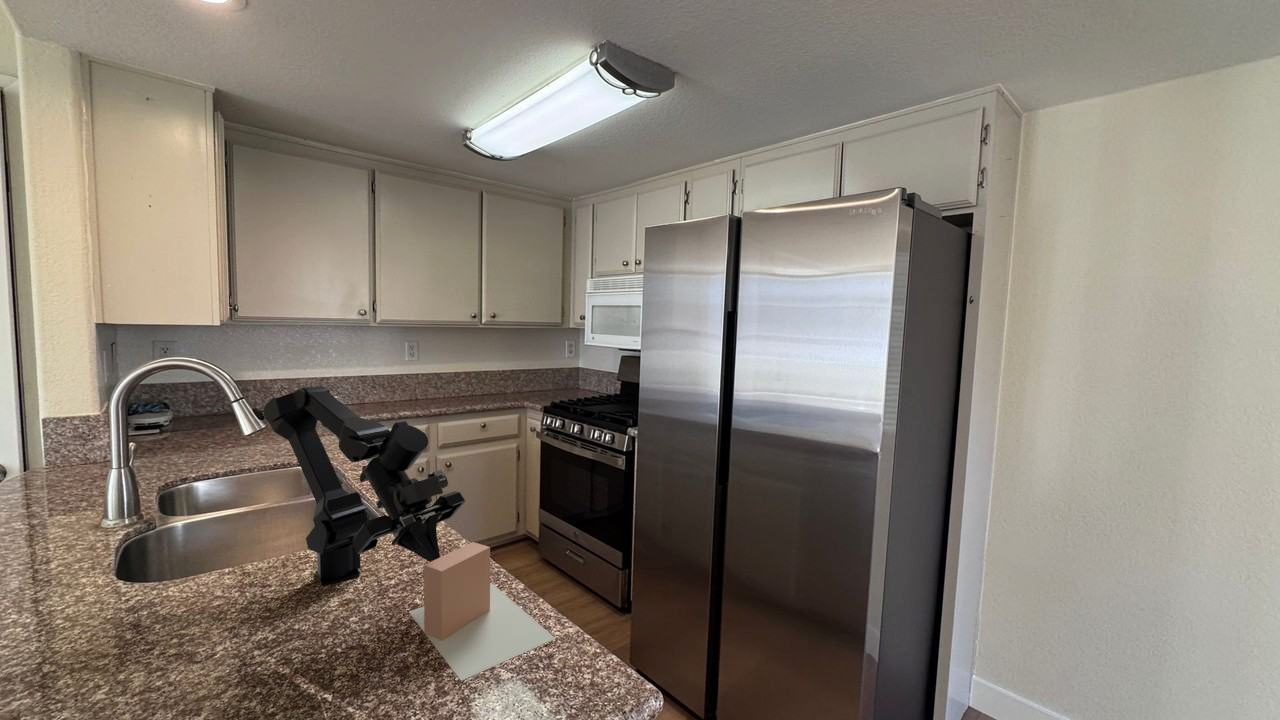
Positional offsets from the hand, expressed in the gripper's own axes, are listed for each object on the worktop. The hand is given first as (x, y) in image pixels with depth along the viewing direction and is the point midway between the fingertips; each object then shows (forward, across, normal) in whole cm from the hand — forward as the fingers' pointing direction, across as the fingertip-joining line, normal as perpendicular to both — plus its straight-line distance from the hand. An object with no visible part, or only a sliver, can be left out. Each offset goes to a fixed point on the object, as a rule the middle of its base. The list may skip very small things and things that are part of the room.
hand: (437, 562), depth 86 cm
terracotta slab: (+10, 0, +3) cm, 10 cm away
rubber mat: (+13, +1, +1) cm, 13 cm away
